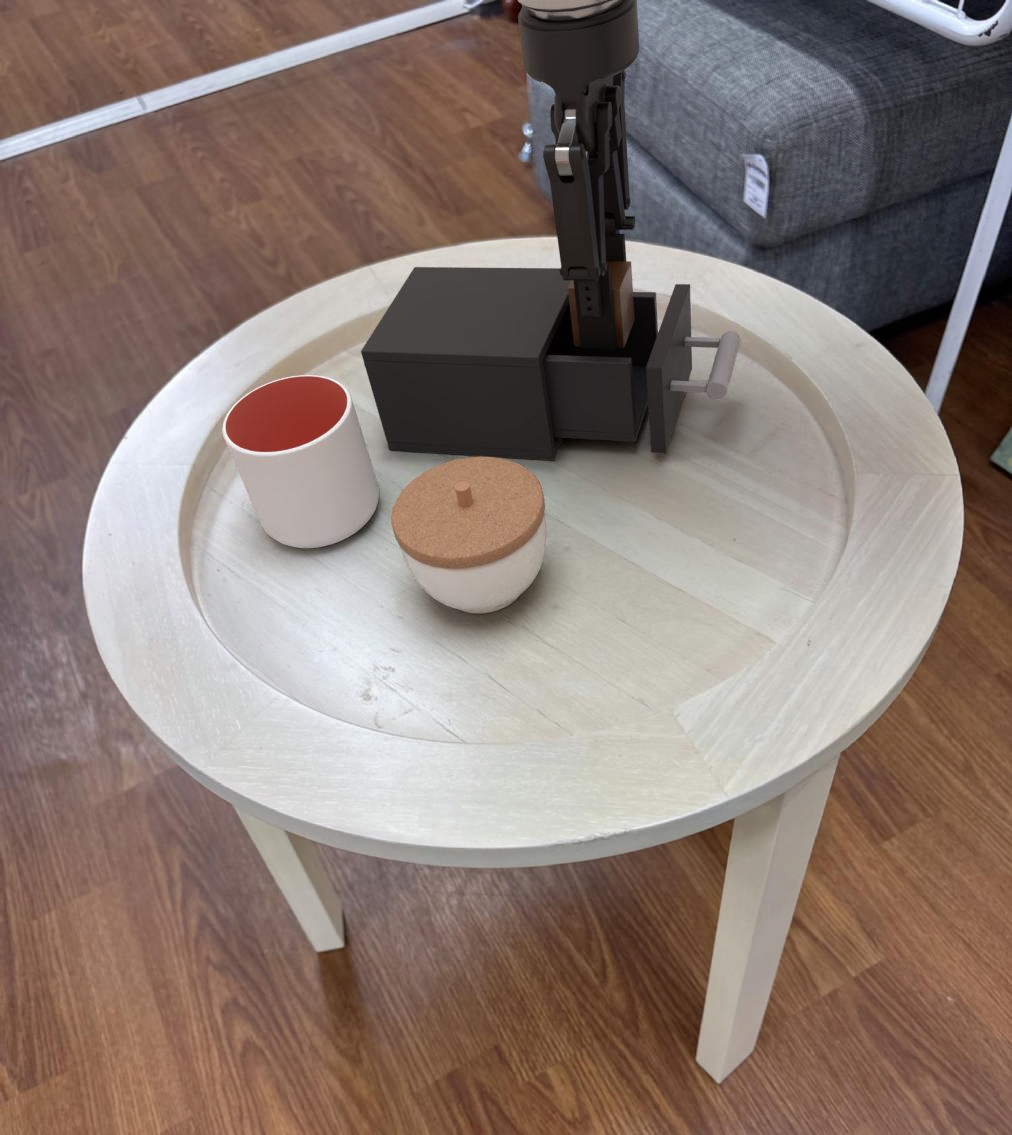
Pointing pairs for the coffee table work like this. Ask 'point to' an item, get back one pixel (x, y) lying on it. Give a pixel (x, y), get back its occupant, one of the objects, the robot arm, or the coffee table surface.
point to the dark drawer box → (468, 361)
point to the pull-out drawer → (633, 375)
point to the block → (621, 300)
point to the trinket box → (472, 532)
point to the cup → (303, 460)
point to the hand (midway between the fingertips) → (605, 329)
